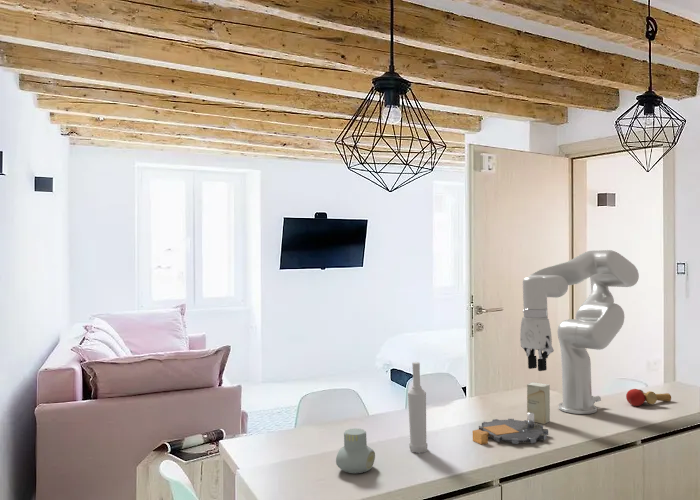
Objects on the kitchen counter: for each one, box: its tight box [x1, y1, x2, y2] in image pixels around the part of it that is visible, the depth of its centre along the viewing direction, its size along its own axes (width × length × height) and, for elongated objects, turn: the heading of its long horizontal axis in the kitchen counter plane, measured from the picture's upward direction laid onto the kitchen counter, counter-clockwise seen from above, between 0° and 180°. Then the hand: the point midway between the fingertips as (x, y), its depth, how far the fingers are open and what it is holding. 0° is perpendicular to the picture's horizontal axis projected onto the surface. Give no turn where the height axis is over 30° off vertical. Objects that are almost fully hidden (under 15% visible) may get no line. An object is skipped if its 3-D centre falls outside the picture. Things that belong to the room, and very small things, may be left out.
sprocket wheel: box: [478, 412, 549, 445], centre depth 169 cm, size 20×20×5 cm
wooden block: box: [472, 428, 489, 446], centre depth 167 cm, size 17×7×3 cm, turn 116°
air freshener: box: [335, 428, 376, 474], centre depth 145 cm, size 11×8×10 cm
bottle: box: [407, 361, 428, 454], centre depth 159 cm, size 5×5×25 cm
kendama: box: [625, 388, 672, 407], centre depth 200 cm, size 8×6×18 cm
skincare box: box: [526, 381, 551, 425], centre depth 183 cm, size 6×4×12 cm
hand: (537, 368), depth 183 cm, fingers open, 3 cm apart
